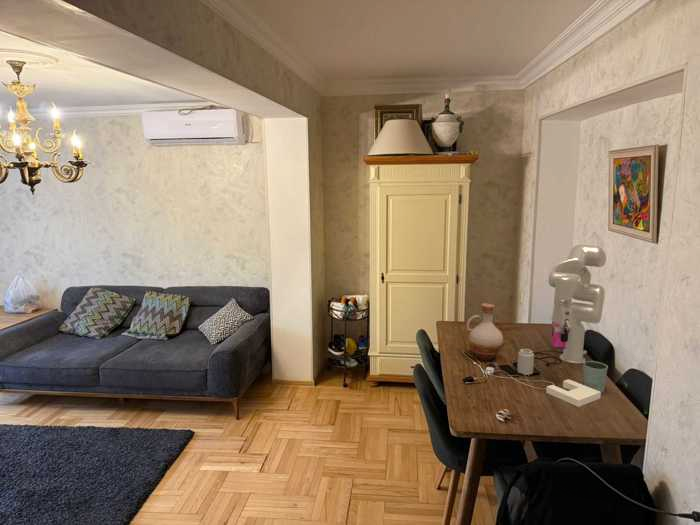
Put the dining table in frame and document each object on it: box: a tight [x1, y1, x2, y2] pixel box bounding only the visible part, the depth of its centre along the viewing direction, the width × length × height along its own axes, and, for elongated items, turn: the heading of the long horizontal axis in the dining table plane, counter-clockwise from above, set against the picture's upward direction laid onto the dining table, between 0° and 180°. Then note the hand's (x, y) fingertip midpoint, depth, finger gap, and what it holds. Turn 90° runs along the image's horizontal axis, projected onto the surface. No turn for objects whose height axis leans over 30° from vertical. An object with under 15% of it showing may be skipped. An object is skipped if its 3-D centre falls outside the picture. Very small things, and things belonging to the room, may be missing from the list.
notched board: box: [545, 378, 602, 408], centre depth 215 cm, size 16×16×3 cm
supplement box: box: [552, 322, 567, 350], centre depth 225 cm, size 6×6×12 cm
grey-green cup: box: [582, 360, 609, 394], centre depth 221 cm, size 10×10×12 cm
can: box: [516, 348, 535, 376], centre depth 239 cm, size 8×8×12 cm
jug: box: [466, 302, 504, 361], centre depth 259 cm, size 20×18×30 cm
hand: (559, 338), depth 225 cm, fingers closed on supplement box, 7 cm apart
